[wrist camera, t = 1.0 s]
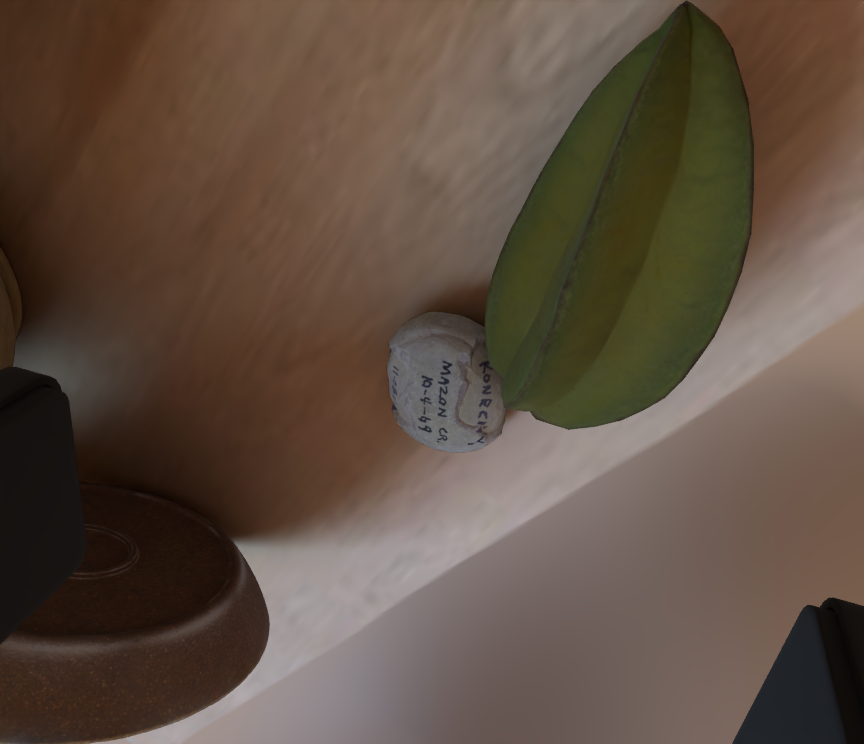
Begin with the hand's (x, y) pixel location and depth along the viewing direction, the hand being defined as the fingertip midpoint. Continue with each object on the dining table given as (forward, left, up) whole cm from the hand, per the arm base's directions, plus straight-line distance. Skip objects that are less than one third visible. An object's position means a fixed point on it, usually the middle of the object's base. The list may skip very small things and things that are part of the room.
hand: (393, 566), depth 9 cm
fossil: (+8, -2, -19) cm, 21 cm away
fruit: (+3, +2, -14) cm, 15 cm away
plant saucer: (+14, -20, -13) cm, 28 cm away
